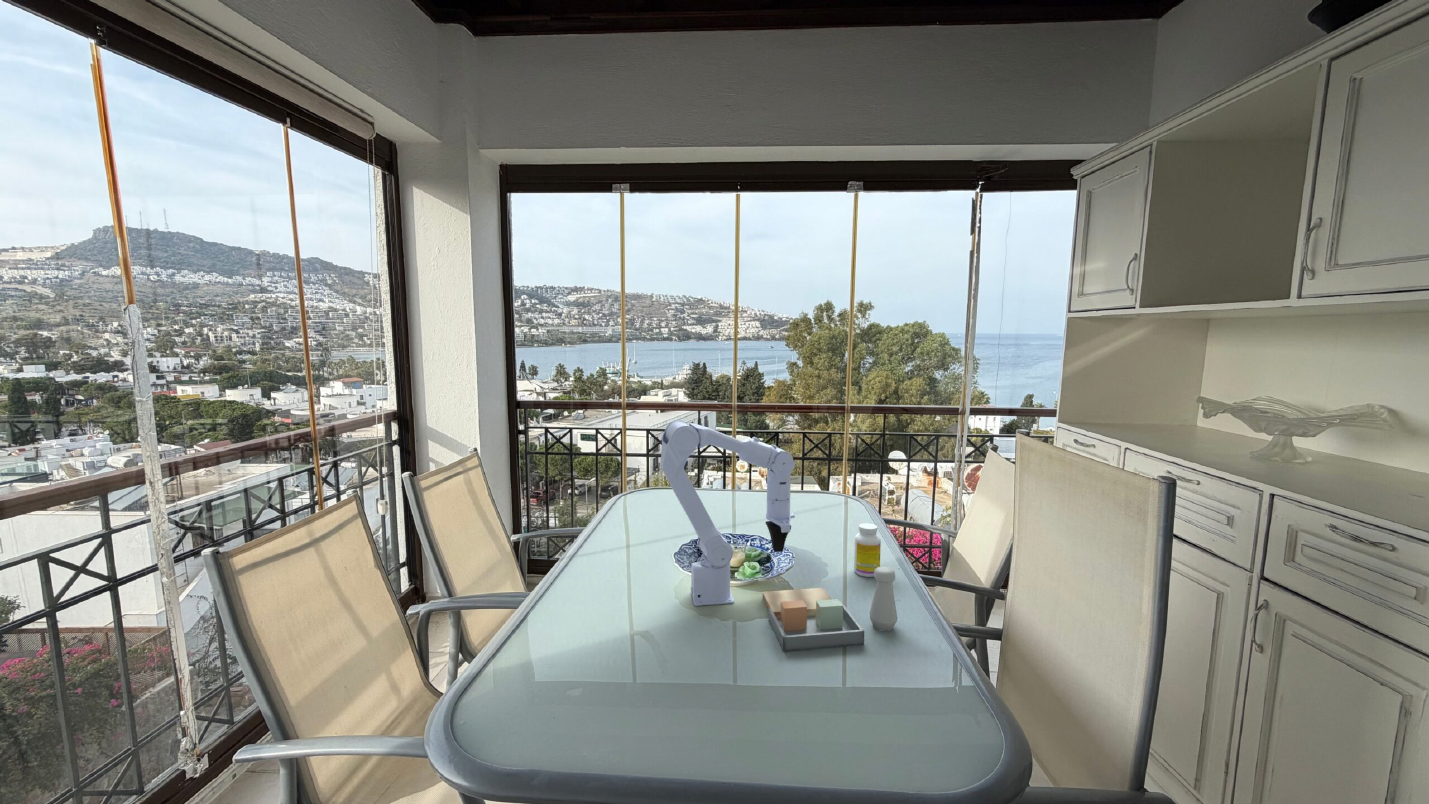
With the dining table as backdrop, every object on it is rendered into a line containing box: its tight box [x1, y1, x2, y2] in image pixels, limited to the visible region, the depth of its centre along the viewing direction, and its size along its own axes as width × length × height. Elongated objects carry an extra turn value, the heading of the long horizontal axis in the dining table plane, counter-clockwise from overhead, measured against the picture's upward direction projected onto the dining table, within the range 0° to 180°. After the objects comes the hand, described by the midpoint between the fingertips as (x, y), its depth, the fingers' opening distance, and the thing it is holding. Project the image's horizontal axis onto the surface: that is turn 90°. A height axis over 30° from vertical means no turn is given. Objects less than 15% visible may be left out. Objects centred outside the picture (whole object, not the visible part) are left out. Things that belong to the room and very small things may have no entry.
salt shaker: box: [869, 566, 898, 632], centre depth 120 cm, size 6×6×13 cm
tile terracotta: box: [780, 600, 807, 631], centre depth 119 cm, size 5×5×3 cm
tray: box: [768, 602, 865, 653], centre depth 118 cm, size 17×12×3 cm
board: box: [762, 587, 832, 619], centre depth 129 cm, size 15×10×2 cm, turn 98°
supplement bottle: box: [853, 523, 882, 578], centre depth 147 cm, size 7×7×13 cm
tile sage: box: [816, 598, 843, 629], centre depth 120 cm, size 5×5×3 cm
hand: (777, 550), depth 138 cm, fingers closed
